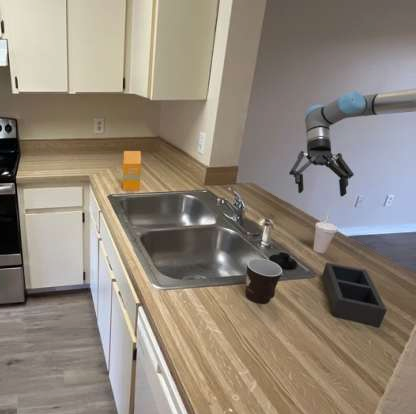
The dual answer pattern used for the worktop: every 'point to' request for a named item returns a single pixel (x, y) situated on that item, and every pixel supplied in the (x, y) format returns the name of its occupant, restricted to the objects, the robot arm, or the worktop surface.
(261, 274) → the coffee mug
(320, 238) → the smoothie
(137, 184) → the orange juice
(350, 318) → the cup holder
